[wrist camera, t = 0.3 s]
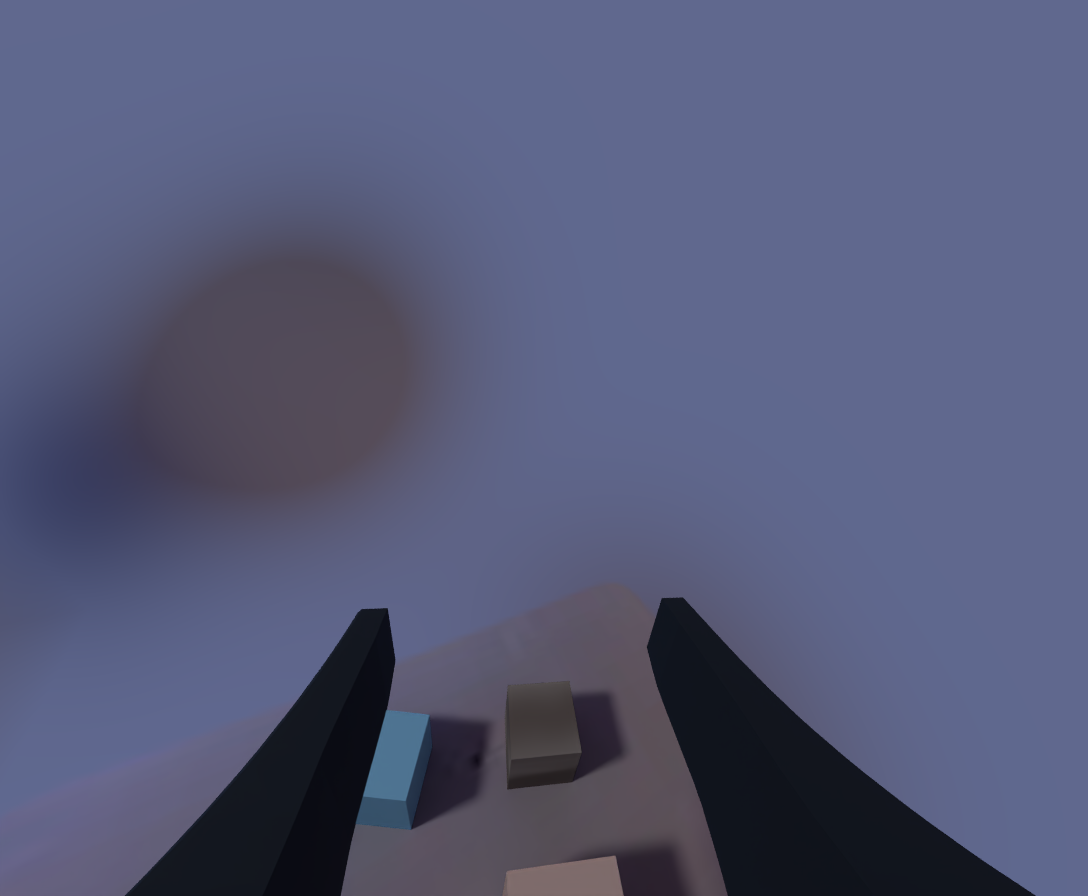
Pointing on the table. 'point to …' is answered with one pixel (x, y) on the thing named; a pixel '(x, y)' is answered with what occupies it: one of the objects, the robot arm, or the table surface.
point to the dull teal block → (397, 771)
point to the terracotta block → (566, 879)
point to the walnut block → (541, 735)
